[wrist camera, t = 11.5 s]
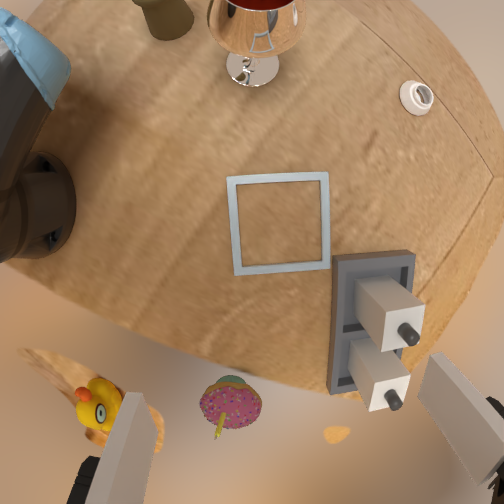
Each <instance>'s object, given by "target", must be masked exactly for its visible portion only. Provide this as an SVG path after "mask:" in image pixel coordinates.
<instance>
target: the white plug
mask: <svg viewBox="0 0 504 504" xmlns="http://www.w3.org/2000/svg"><path fill="white" fill-rule="evenodd" d="M348 370H349V372H350V374H351V376H352V378H353V380H354V382H355V385H356V387H357V389H358V391H359V393H360V395H361V397H362V399H363V401H364V403H365V405H366V408H367V410H368V412H369V411H374V410H379V409H383V408H387V407H390V408H391V410H393V411H395V410H398V409H399V408H401V406H402V405H403V401H404V397H405V394H406V391H407V387H408V384H409V380H410V376H411V374H410V373H409V371H408V370H407V369H406V367H405V366H404V365H403V363H402V362H401V361H400V359H399V358H398V357H397V355H396V354H395V353H394V351H393V350H390V351H385V352H381V351H380V350H379V349H378V347H377V346H376V344H375V343H374V341H373V340H372V339H371V338H366V339H360V340H353V341H351V342H350V351H349V360H348Z"/></svg>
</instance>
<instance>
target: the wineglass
mask: <svg viewBox="0 0 504 504" xmlns="http://www.w3.org/2000/svg"><path fill="white" fill-rule="evenodd" d="M207 23H208V27H209V30H210V32H211V34H212V36H213V38H214V39H215V40H216V41H217V43H218V44H219V45H221V46H222V47H223V48H224V49H226V50H227V51H229V52H230V53H229V55H228V57H227V61H226V67H227V71H228V73H229V75H230V76H231V78H232V79H233V80H235V81H236V82H237V83H239V84H241V85H244V86H249V87H257V86H262V85H264V84H267V83H268V82H270V81H271V80H272V79H273V78H274V77H275V76H276V74H277V72H278V70H279V59H278V57H277V55H279V54H281V53H283V52H285V51H287V50H288V49H290V48H291V47H292V46H294V45H295V44H296V43H297V41H298V40H299V39H300V37H301V36H302V34H303V32H304V29H305V25H306V4H305V0H210V2H209V5H208V11H207Z"/></svg>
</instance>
